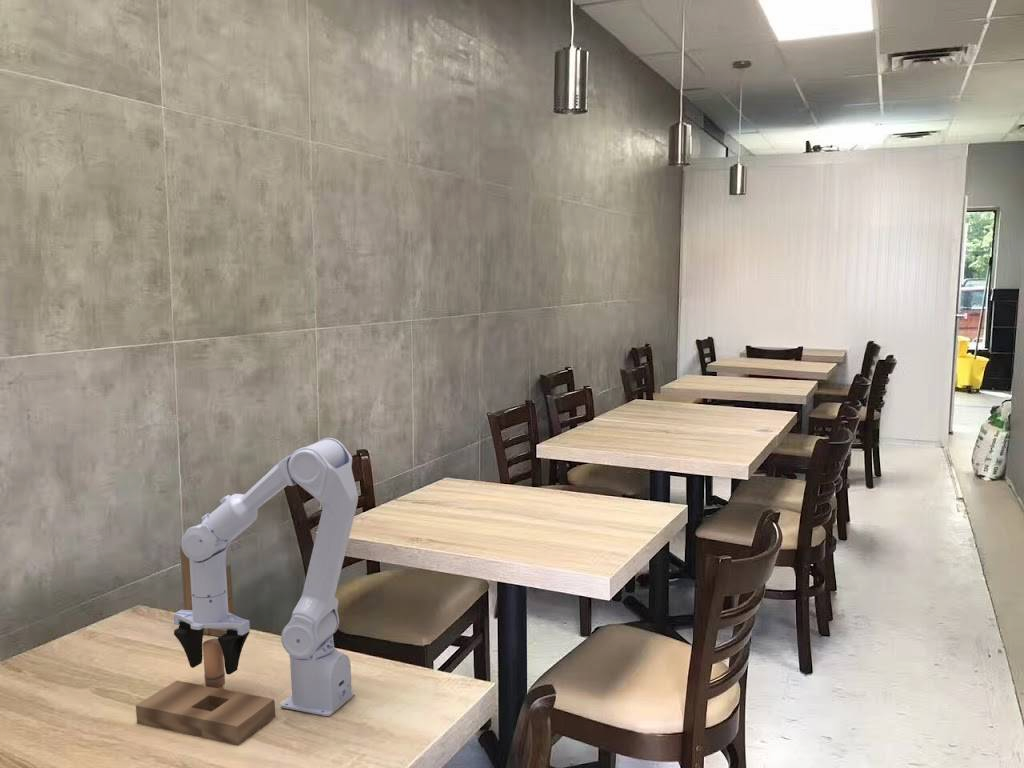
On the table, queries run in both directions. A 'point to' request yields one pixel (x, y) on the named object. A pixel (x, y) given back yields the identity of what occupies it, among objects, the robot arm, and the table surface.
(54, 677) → the table surface
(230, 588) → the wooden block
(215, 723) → the board
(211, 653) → the peg
